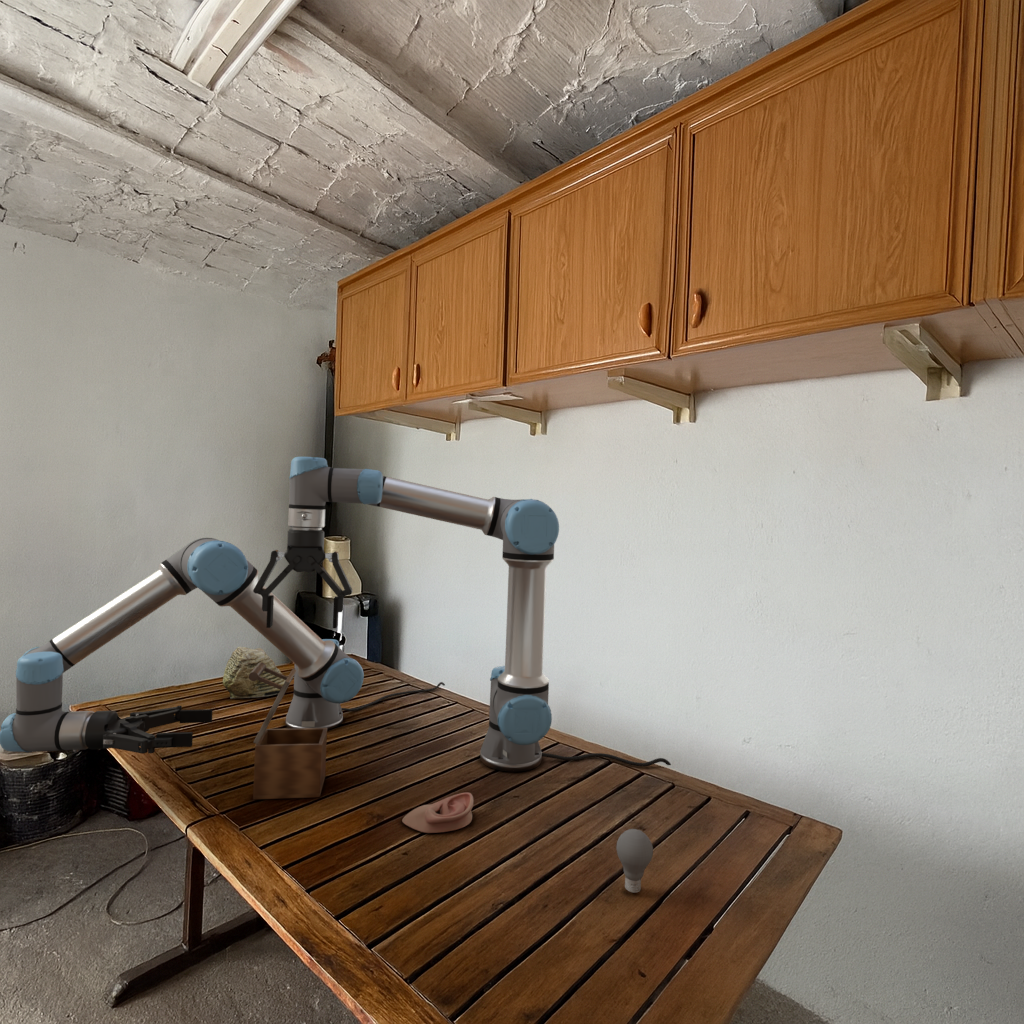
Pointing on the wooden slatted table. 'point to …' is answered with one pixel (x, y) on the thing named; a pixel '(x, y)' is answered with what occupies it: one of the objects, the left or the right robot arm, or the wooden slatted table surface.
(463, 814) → the anatomical model
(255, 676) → the lid
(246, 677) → the fossil
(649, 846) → the light bulb
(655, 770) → the wooden slatted table surface
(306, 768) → the chest
